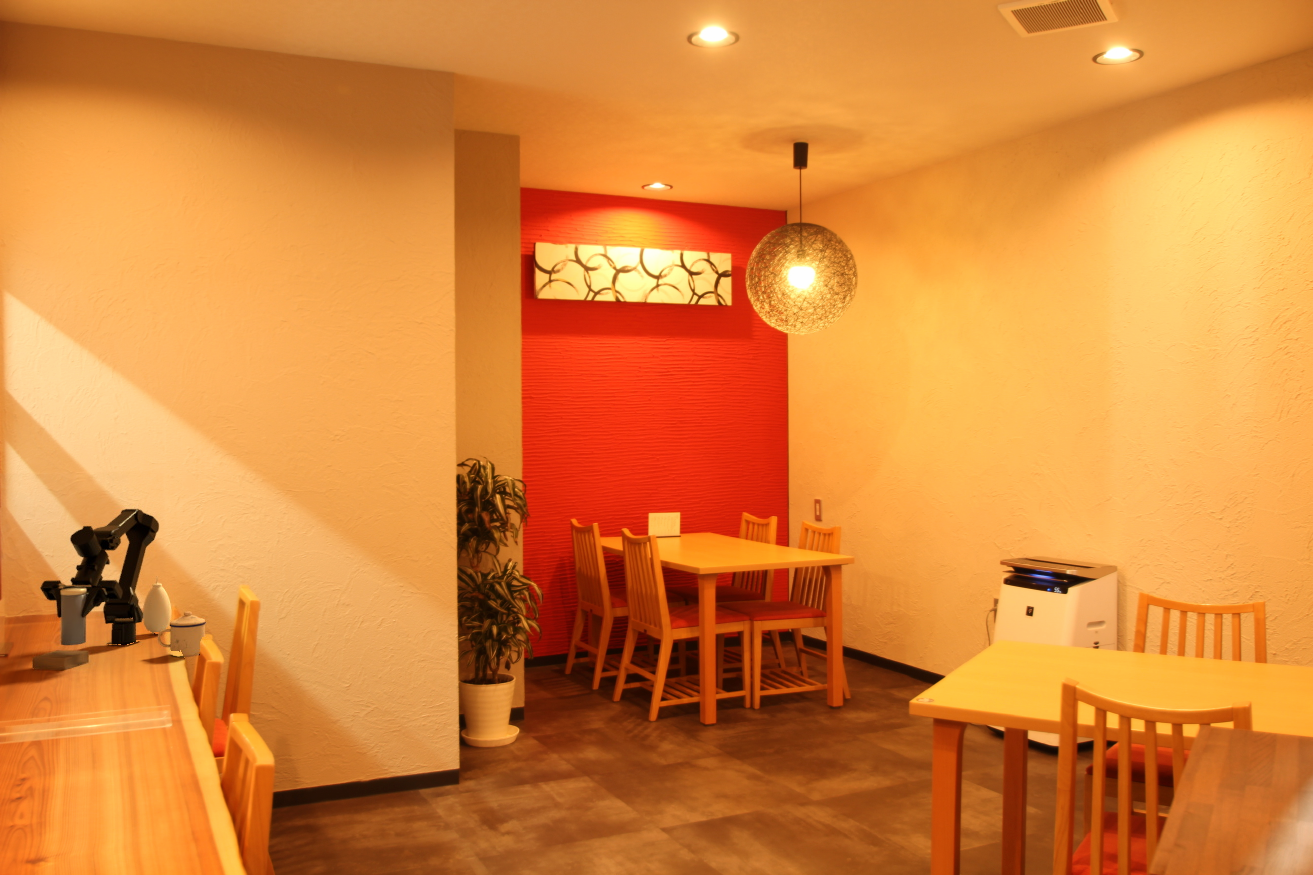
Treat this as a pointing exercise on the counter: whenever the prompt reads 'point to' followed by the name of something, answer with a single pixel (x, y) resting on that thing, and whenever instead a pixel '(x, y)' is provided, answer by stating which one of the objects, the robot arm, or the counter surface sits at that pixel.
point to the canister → (73, 616)
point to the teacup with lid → (185, 634)
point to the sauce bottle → (156, 609)
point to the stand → (60, 660)
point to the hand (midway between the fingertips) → (70, 616)
